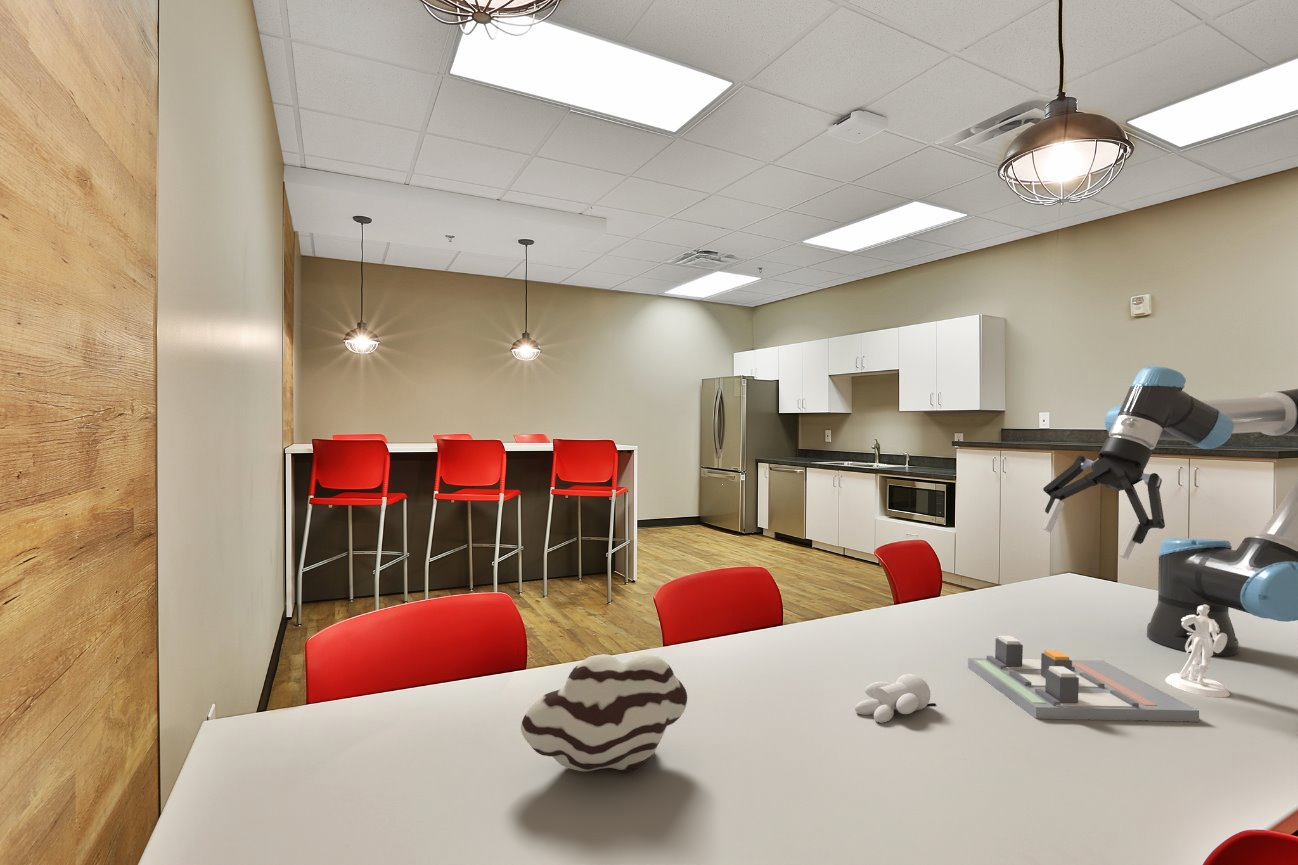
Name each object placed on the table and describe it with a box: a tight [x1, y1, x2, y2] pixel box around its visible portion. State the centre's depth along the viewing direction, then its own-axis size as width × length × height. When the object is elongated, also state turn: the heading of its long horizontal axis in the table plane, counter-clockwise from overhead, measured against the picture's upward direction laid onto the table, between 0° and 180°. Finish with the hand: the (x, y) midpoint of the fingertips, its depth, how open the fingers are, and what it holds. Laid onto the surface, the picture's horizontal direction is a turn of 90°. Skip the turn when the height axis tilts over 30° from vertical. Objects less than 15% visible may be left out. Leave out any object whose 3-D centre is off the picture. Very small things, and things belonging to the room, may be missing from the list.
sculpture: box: [520, 653, 688, 772], centre depth 82 cm, size 22×12×15 cm, turn 106°
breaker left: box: [994, 635, 1024, 667], centre depth 117 cm, size 3×4×5 cm
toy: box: [854, 673, 937, 724], centre depth 102 cm, size 8×6×15 cm
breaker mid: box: [1040, 649, 1072, 678], centre depth 110 cm, size 3×4×5 cm
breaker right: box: [1045, 666, 1079, 703], centre depth 102 cm, size 3×4×5 cm
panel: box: [967, 655, 1200, 723], centre depth 110 cm, size 26×21×2 cm
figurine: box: [1165, 605, 1231, 698], centre depth 114 cm, size 9×9×15 cm
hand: (1082, 543), depth 120 cm, fingers open, 13 cm apart
